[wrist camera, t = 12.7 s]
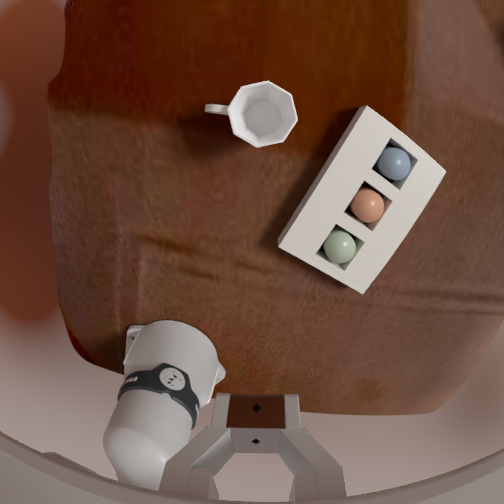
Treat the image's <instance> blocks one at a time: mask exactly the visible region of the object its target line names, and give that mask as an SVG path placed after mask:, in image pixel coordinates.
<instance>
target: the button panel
mask: <svg viewBox="0 0 504 504" xmlns="http://www.w3.org/2000/svg"><path fill="white" fill-rule="evenodd" d="M388 141H389V142H390V143H391V144H393V145H394V146H395V147H396V148H398V149H401V150H403V151H404V152H406V154H407V155H408V157H409V159H410V170H409V173H408V174H407V176H406V177H405V178H403V179H401V180H394V182H393V183H392V184H391V183H390V182H388V181H387V180H386V179H384V178H383V177H382V176H380V175H379V174H378V173H376V172H375V171H374V170H372V167H373V166H374V164H375V162H376V161H377V159H378V158H379V156H380V154H381V153H382V151H383V149H384V148H385V146H386V145H387V143H388ZM445 173H446V171H445V170H444V169H443V168H442V167H441V166H440V165H439V164H438V163H437V162H436V161H435V160H434V159H432V158H431V157H430V156H429V155H428V154H427V153H426V152H425V151H424V150H422V149H421V148H420V147H419V146H418V145H417V144H415V143H414V142H413V141H412V140H411V139H409V138H408V137H407V136H406V135H405V134H403V133H402V132H401V131H400V130H398V129H397V128H396V127H395V126H393V125H392V124H391V123H390V122H388V121H387V120H386V119H384V118H383V117H382V116H380V115H379V114H378V113H376V112H375V111H374V110H372V109H371V108H369V107H368V106H363V107H359V109H358V111H357V112H356V114H355V115H354V117H353V119H352V120H351V122H350V124H349V125H348V127H347V129H346V130H345V132H344V133H343V135H342V137H341V138H340V140H339V142H338V143H337V145H336V146H335V148H334V150H333V151H332V153H331V154H330V156H329V158H328V159H327V161H326V163H325V164H324V166H323V167H322V169H321V171H320V172H319V174H318V175H317V177H316V179H315V180H314V182H313V183H312V185H311V187H310V188H309V190H308V191H307V193H306V195H305V196H304V198H303V199H302V201H301V202H300V204H299V206H298V207H297V209H296V210H295V212H294V214H293V215H292V217H291V218H290V220H289V221H288V223H287V225H286V226H285V228H284V229H283V231H282V232H281V234H280V236H279V237H278V247H279V248H281V249H283V250H285V251H287V252H289V253H290V254H292V255H294V256H296V257H298V258H299V259H301V260H303V261H305V262H307V263H308V264H310V265H312V266H314V267H316V268H317V269H319V270H321V271H323V272H324V273H326V274H328V275H330V276H332V277H333V278H335V279H337V280H339V281H340V282H342V283H344V284H346V285H348V286H349V287H351V288H353V289H355V290H356V291H358V292H360V293H362V294H363V293H364V292H365V291H366V289H367V288H368V287H369V286H370V284H371V283H372V282H373V280H374V279H375V278H376V276H377V275H378V274H379V272H380V271H381V270H382V268H383V267H384V266H385V264H386V263H387V262H388V260H389V259H390V258H391V256H392V255H393V253H394V252H395V251H396V249H397V248H398V246H399V245H400V243H401V242H402V241H403V239H404V238H405V236H406V235H407V233H408V232H409V230H410V229H411V227H412V226H413V224H414V223H415V221H416V220H417V218H418V217H419V215H420V214H421V212H422V211H423V209H424V207H425V206H426V204H427V203H428V201H429V200H430V198H431V196H432V195H433V193H434V191H435V190H436V188H437V186H438V185H439V183H440V181H441V180H442V178H443V176H444V175H445ZM364 181H365V182H366V183H368V184H369V185H370V186H372V187H373V188H375V189H376V190H377V191H379V192H380V193H381V194H383V195H384V197H383V202H384V210H383V213H382V215H381V216H380V218H379V219H377V220H376V221H374V222H370V223H366V224H364V223H363V222H361V221H360V220H358V219H357V218H355V217H354V216H352V215H351V214H349V213H348V212H346V211H345V209H346V208H347V206H348V205H349V203H350V202H351V200H352V199H353V197H354V196H355V194H356V193H357V191H358V189H359V188H360V186H361V185H362V183H363V182H364ZM336 224H337V225H339V226H341V227H342V228H344V229H345V230H347V231H348V232H350V233H352V234H353V235H355V236H356V237H357V238H356V239H355V241H354V242H355V245H356V251H355V254H354V256H353V257H352V258H351V259H350V260H349V261H347V262H345V263H334V262H332V261H331V260H330V259H329V258H328V257H327V255H326V254H325V253H324V252H322V251H320V250H319V248H320V247H321V245H322V244H323V242H324V241H325V239H326V238H327V236H328V235H329V233H330V232H331V231H332V229H333V228H334V226H335V225H336Z"/></svg>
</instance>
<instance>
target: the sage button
mask: <svg viewBox="0 0 504 504" xmlns="http://www.w3.org/2000/svg"><path fill="white" fill-rule="evenodd" d="M322 245H323V248H324V250H325V252H326V255H327V257H328V258H329V259H330V260H331V261H332V262H334V263H345V262H347V261H349V260H350V259H351V258H352V257H353V256H354V254H355V251H356V245H355V242H354V240H353V239H352V237H351V236H350V235H349V233H348V232H347V231H346V230H345V229H344V228H341V227H334V228H333V229H332V231H331V232H330V233H329V235H328V236H327V238H326V239H325V241H324V242H323V244H322Z"/></svg>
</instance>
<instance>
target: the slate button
mask: <svg viewBox="0 0 504 504" xmlns="http://www.w3.org/2000/svg"><path fill="white" fill-rule="evenodd" d="M374 165H375V168H376V170H377V171H378V172H379V173H380V174H381V175H383V176H386V177H388V178H390V179H392V180H401V179H403V178H405V177H406V176H407V174H408V173H409V170H410V159H409V157H408V155H407V154H406V152H404V151H403V150H401V149H397V148H392V147H385V148H384V149H383V151H382V153H381V154H380V156H379V158H378V159H377V161H376V162H375V164H374Z"/></svg>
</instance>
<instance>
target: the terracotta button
mask: <svg viewBox="0 0 504 504" xmlns="http://www.w3.org/2000/svg"><path fill="white" fill-rule="evenodd" d="M349 208H350V210H351V211H352V212H353V213H354V214H355V215H356V216H357V217H358V218H359V219H360V220H361V221H363V222H367V223H370V222H374V221H376V220H377V219H379V218H380V216H381V215H382V213H383V210H384V202H383V199H382V197H381V196H380V195H379V194H377V193H376V192H374V191H373V190H371V189H369V188H367V187H360V188H359V189H358V191H357V193H356V194H355V196H354V197H353V199H352V200H351V202H350V203H349Z"/></svg>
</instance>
